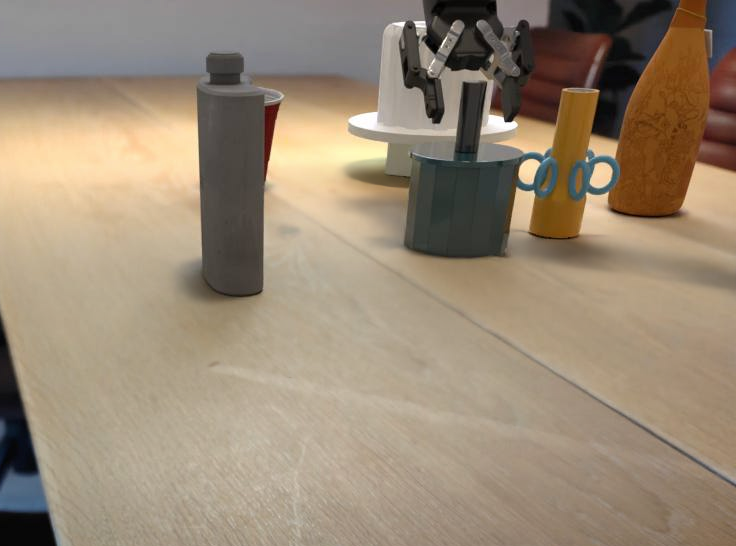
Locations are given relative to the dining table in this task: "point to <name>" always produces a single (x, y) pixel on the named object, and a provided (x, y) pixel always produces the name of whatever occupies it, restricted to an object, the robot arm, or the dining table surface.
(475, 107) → the lid
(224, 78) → the flask
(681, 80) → the wine bottle
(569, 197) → the cylinder
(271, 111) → the plastic cup
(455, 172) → the pot
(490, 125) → the flanged gear
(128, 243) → the dining table surface
